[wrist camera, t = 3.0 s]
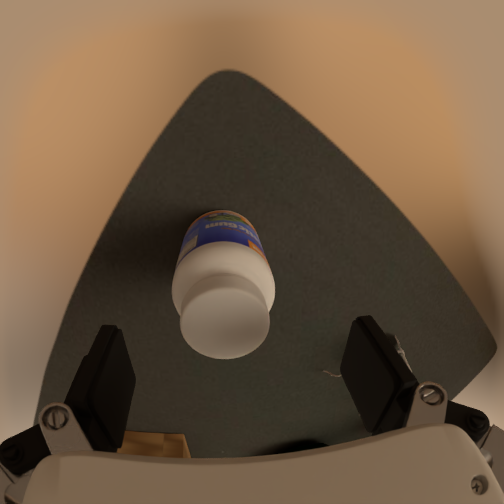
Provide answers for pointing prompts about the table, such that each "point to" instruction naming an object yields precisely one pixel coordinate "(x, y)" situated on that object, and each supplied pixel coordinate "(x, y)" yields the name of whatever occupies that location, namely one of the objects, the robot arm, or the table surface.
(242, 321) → the pill bottle
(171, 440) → the socket
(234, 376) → the table surface
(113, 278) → the table surface
